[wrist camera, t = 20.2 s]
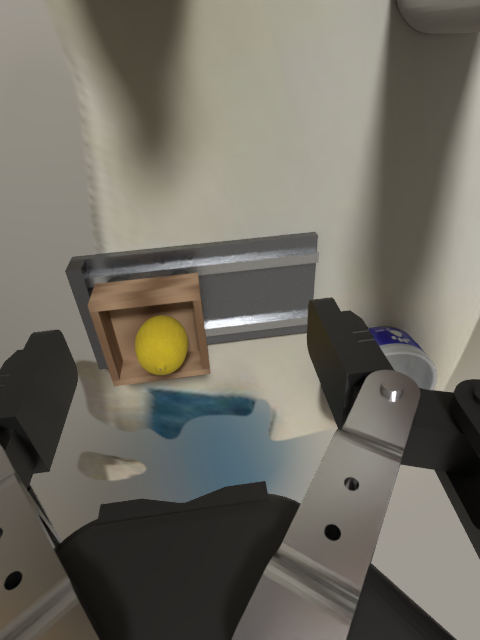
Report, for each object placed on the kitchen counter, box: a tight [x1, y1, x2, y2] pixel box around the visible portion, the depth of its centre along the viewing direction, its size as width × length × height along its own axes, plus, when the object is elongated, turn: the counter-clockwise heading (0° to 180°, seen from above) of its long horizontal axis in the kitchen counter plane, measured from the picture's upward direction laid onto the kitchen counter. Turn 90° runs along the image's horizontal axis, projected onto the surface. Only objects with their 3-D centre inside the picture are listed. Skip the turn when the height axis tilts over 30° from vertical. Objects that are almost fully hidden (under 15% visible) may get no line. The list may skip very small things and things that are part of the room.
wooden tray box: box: [88, 270, 210, 386], centre depth 44 cm, size 11×11×6 cm
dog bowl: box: [369, 327, 437, 390], centre depth 58 cm, size 15×15×6 cm
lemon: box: [135, 315, 188, 375], centre depth 41 cm, size 6×6×8 cm
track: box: [65, 232, 319, 369], centre depth 48 cm, size 28×14×3 cm, turn 93°
